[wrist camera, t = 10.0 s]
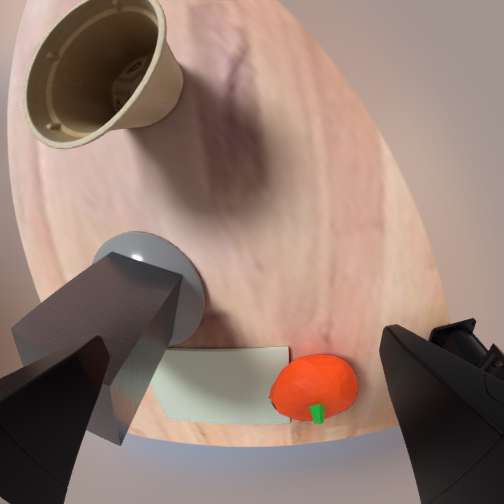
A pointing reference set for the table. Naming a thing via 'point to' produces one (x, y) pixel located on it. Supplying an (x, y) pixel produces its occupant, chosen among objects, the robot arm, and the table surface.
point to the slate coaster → (171, 259)
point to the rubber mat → (220, 384)
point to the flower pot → (101, 73)
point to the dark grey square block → (109, 331)
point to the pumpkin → (314, 388)
